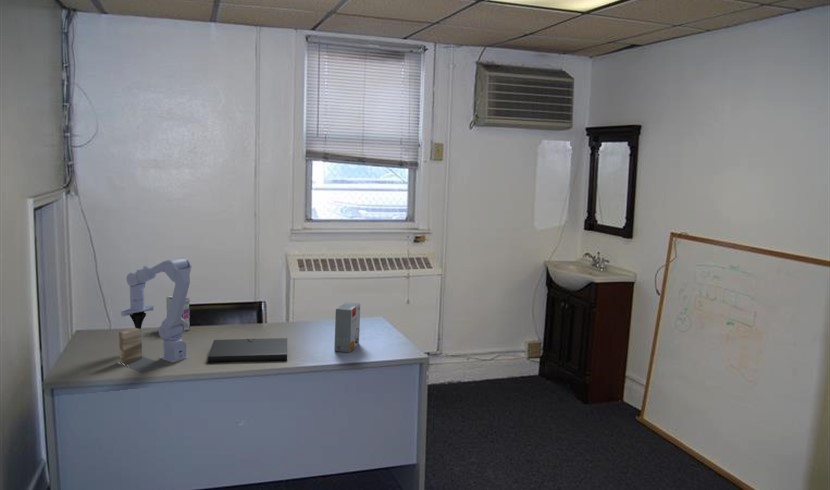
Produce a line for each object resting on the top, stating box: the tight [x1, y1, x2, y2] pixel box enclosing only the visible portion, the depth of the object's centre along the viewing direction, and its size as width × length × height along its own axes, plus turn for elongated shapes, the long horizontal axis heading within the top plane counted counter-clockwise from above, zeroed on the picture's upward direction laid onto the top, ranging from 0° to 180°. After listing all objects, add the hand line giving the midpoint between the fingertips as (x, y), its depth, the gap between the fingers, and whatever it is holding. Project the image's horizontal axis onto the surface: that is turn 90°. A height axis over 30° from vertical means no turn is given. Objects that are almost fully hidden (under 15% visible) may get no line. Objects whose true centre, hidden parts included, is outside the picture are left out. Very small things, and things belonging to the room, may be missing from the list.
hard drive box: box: [333, 301, 361, 353], centre depth 305 cm, size 16×8×20 cm, turn 168°
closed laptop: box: [207, 337, 288, 364], centre depth 292 cm, size 33×4×24 cm
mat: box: [120, 355, 169, 374], centre depth 274 cm, size 20×12×1 cm, turn 57°
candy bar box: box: [166, 295, 191, 332], centre depth 325 cm, size 11×5×16 cm, turn 62°
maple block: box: [118, 327, 143, 364], centre depth 276 cm, size 4×8×13 cm, turn 147°
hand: (138, 328), depth 290 cm, fingers closed
